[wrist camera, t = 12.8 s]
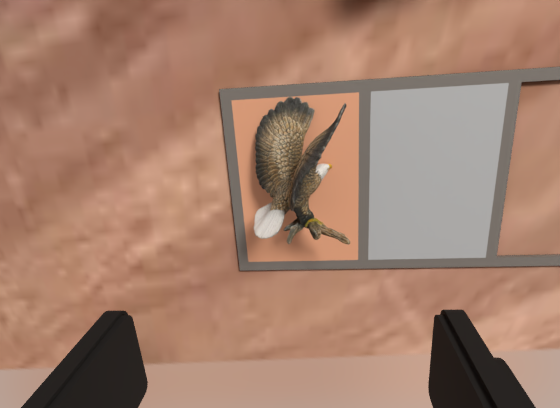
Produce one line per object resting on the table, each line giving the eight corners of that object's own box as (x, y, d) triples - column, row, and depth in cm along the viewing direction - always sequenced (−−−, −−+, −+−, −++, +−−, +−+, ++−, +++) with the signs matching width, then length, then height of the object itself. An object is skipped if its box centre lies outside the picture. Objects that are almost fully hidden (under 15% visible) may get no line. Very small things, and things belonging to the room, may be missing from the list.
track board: (684, 58, 24) (688, 58, 23) (627, 262, 28) (631, 264, 28) (220, 89, 27) (219, 89, 26) (240, 268, 31) (239, 270, 31)
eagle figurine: (375, 215, 27) (372, 92, 23) (326, 273, 23) (310, 132, 18) (291, 196, 32) (274, 90, 27) (235, 242, 27) (204, 123, 23)
